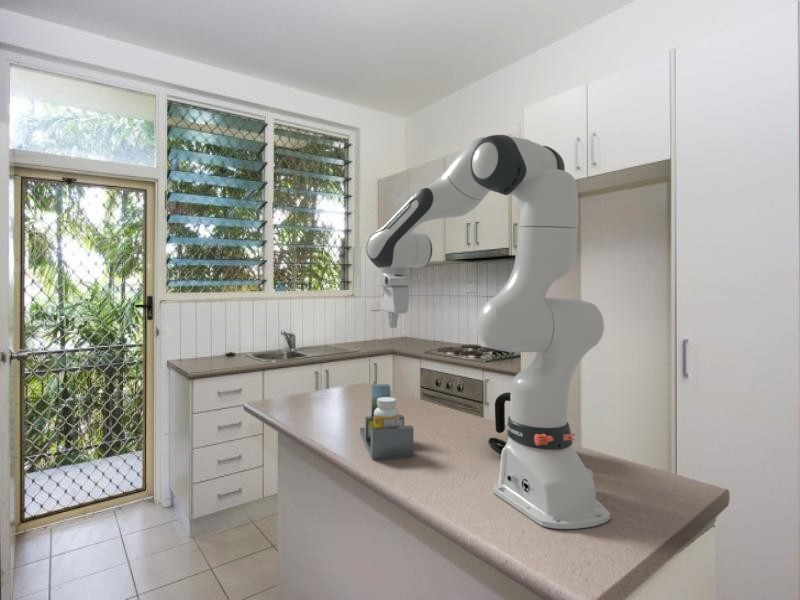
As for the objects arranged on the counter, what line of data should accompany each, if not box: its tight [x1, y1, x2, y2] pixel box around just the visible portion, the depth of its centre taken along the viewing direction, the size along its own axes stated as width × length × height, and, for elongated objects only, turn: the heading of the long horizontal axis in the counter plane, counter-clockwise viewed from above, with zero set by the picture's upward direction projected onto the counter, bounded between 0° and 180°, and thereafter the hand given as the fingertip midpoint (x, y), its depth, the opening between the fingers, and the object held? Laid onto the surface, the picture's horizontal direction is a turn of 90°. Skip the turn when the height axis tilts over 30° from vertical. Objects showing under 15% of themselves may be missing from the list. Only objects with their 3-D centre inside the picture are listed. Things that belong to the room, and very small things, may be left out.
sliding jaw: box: [364, 383, 405, 440], centre depth 119 cm, size 9×10×12 cm
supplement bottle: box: [374, 396, 400, 428], centre depth 112 cm, size 6×6×11 cm
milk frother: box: [487, 391, 511, 456], centre depth 113 cm, size 14×16×15 cm
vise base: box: [359, 424, 414, 461], centre depth 116 cm, size 20×10×7 cm, turn 14°
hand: (392, 327), depth 131 cm, fingers closed
